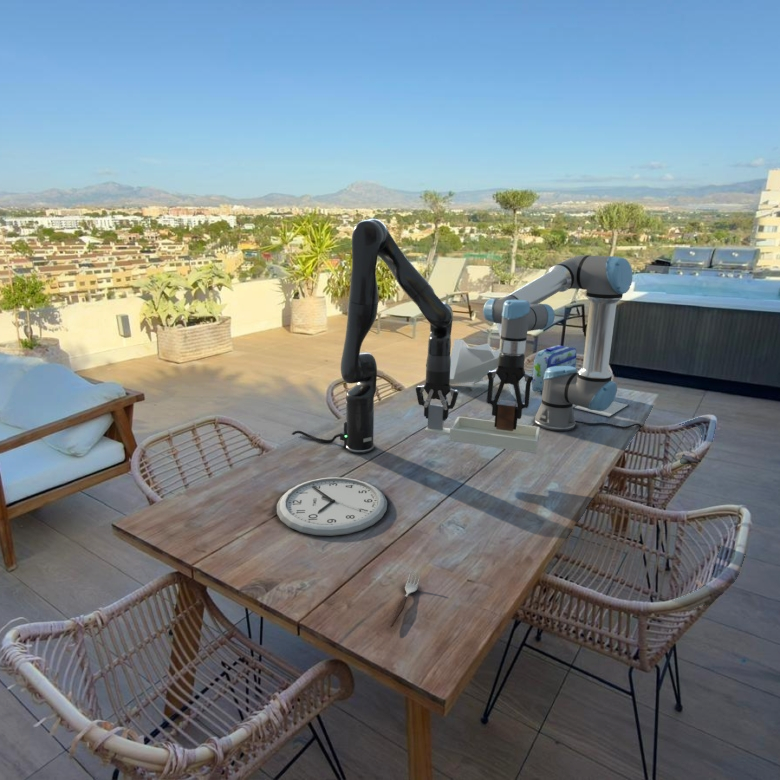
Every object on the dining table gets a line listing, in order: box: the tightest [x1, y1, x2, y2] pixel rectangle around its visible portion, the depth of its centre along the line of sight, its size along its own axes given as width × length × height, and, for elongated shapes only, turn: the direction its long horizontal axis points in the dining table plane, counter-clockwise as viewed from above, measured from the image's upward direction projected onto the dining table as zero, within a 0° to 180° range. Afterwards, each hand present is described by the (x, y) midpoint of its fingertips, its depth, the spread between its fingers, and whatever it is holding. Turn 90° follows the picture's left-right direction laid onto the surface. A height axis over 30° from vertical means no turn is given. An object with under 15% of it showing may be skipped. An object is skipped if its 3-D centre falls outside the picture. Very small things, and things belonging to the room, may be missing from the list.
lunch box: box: [531, 345, 577, 393], centre depth 245 cm, size 26×11×21 cm, turn 134°
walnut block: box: [496, 399, 518, 431], centre depth 160 cm, size 5×5×8 cm
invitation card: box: [573, 400, 629, 418], centre depth 226 cm, size 21×1×15 cm
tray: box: [424, 403, 541, 454], centre depth 163 cm, size 35×12×9 cm, turn 71°
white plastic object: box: [450, 323, 526, 400], centre depth 245 cm, size 37×45×31 cm
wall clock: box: [276, 476, 388, 537], centre depth 142 cm, size 30×2×30 cm
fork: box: [390, 569, 422, 628], centre depth 106 cm, size 3×16×2 cm, turn 160°
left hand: (435, 418), depth 168 cm, fingers closed on tray, 5 cm apart
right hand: (505, 426), depth 161 cm, fingers closed on walnut block, 5 cm apart
